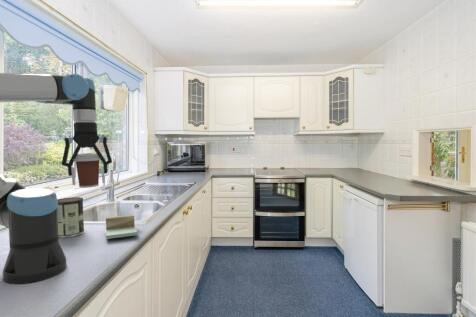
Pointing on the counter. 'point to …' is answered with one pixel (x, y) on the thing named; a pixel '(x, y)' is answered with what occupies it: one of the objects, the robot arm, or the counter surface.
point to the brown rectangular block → (119, 222)
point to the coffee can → (70, 217)
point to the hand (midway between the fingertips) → (89, 183)
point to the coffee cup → (88, 169)
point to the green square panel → (121, 232)
